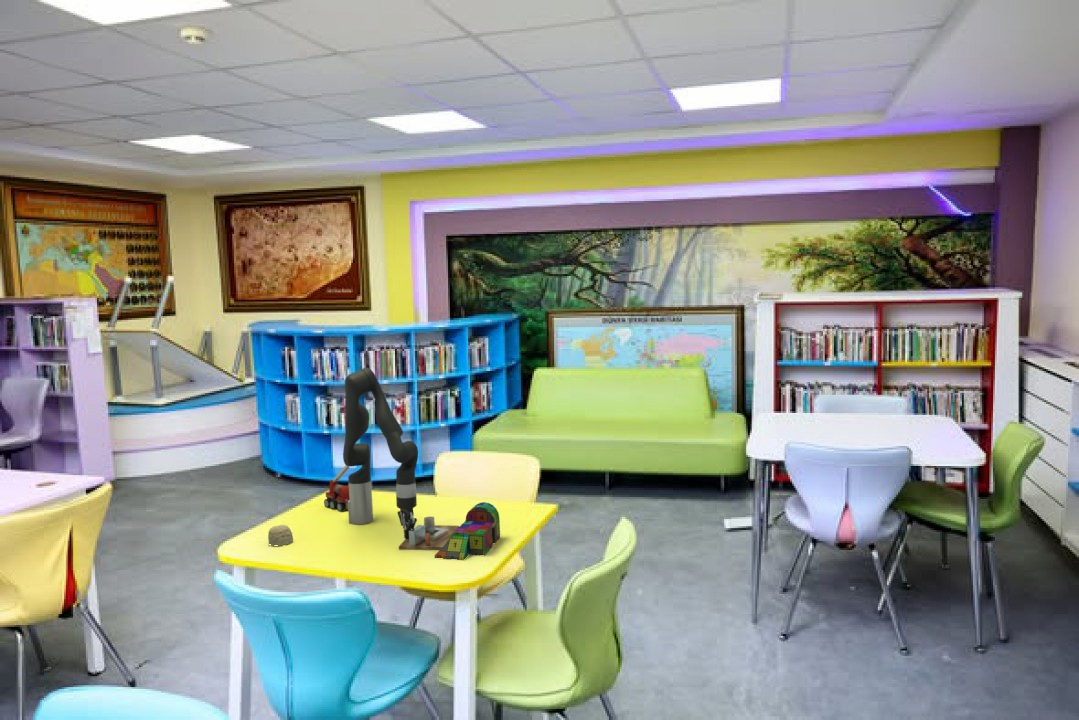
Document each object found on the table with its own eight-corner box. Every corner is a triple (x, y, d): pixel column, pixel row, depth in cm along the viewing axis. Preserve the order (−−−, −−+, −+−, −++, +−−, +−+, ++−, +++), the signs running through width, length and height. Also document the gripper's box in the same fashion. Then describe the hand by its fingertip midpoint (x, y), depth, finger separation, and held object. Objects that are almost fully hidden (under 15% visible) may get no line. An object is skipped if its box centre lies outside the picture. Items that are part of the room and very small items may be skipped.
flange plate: (425, 529, 310) (424, 515, 309) (448, 532, 306) (447, 518, 305) (400, 543, 294) (399, 529, 293) (424, 546, 290) (423, 532, 289)
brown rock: (269, 553, 305) (257, 537, 299) (282, 533, 312) (270, 517, 306) (288, 555, 302) (276, 539, 295) (300, 535, 308) (289, 519, 302)
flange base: (398, 549, 292) (397, 528, 291) (418, 528, 317) (417, 508, 316) (443, 550, 290) (442, 528, 289) (459, 528, 314) (458, 508, 313)
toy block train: (458, 536, 306) (457, 500, 304) (500, 538, 301) (498, 502, 300) (434, 559, 282) (432, 520, 280) (479, 561, 277) (477, 523, 276)
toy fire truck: (342, 513, 341) (340, 473, 339) (323, 506, 352) (320, 468, 350) (364, 506, 349) (362, 468, 348) (344, 501, 360) (342, 463, 358)
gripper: (422, 496, 292) (424, 541, 294) (408, 488, 302) (409, 531, 305) (404, 500, 287) (405, 545, 290) (390, 491, 298) (391, 535, 301)
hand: (407, 538), depth 297 cm, fingers closed
